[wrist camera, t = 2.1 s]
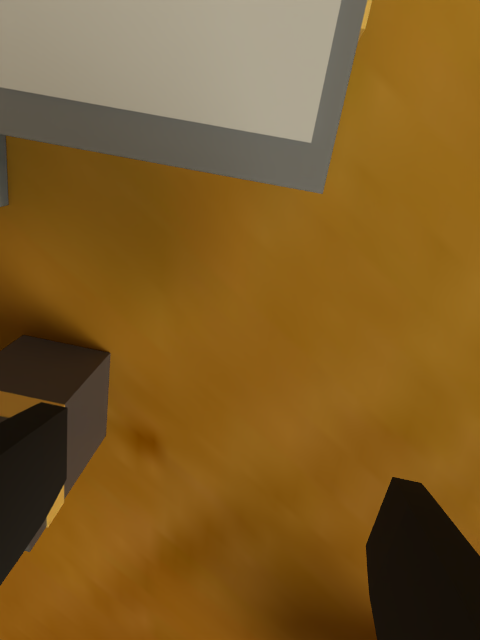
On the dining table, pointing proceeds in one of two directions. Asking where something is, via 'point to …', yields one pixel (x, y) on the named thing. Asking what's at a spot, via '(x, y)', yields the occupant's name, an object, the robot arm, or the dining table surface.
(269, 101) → the pale grey flat box
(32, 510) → the robot arm
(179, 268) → the dining table surface
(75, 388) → the block
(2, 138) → the tray
